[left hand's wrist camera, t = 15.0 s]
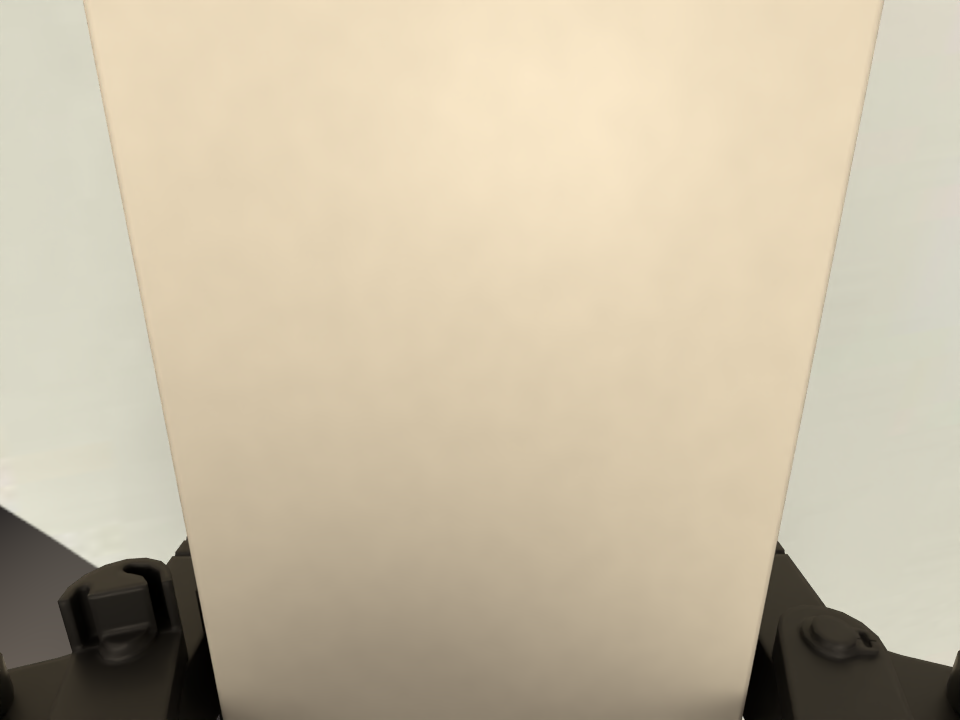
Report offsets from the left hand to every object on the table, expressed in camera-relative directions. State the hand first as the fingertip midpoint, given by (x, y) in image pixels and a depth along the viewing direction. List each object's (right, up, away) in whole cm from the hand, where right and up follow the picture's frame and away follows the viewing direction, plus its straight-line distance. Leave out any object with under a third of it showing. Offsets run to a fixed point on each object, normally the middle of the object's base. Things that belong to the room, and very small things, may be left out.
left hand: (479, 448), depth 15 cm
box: (0, +7, -2) cm, 7 cm away
